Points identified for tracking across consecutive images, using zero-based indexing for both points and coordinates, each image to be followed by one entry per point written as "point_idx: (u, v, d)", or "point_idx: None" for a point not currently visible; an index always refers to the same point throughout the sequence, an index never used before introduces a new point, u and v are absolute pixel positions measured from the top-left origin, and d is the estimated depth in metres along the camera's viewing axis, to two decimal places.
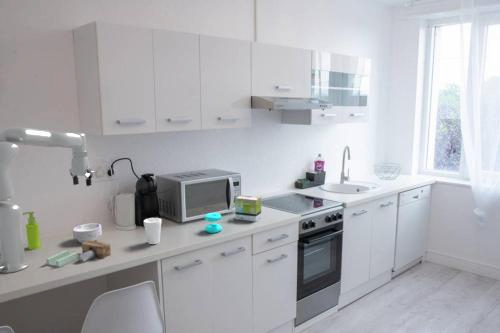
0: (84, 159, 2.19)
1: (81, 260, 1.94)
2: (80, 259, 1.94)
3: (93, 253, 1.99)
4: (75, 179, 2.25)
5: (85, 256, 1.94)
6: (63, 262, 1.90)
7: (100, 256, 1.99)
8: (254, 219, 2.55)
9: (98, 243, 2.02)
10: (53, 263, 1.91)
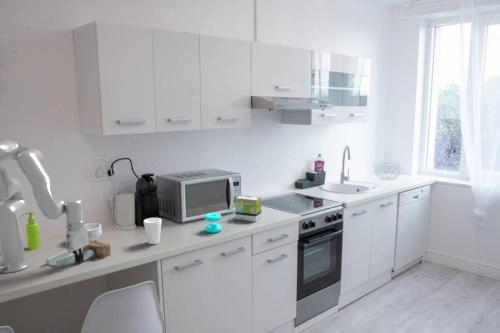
0: None
1: None
2: None
3: (93, 252, 1.99)
4: None
5: (85, 255, 1.95)
6: (63, 262, 1.90)
7: (100, 256, 1.99)
8: (254, 219, 2.55)
9: (98, 243, 2.02)
10: (53, 263, 1.91)
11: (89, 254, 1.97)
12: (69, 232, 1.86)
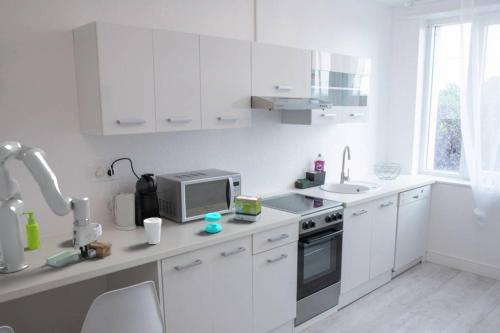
0: None
1: (89, 256, 1.99)
2: (88, 255, 1.99)
3: None
4: None
5: (93, 252, 1.99)
6: (63, 262, 1.90)
7: (100, 256, 1.99)
8: (254, 219, 2.55)
9: (98, 243, 2.02)
10: (53, 263, 1.91)
11: (96, 252, 2.01)
12: (76, 228, 1.90)
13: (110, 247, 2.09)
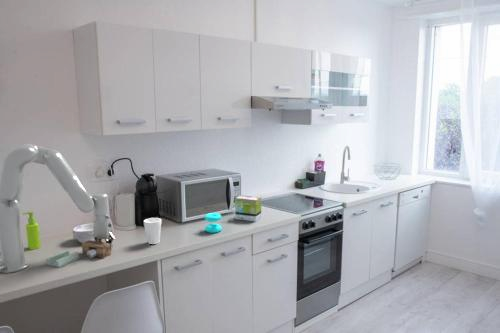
0: None
1: (89, 256, 1.99)
2: (88, 255, 1.99)
3: None
4: None
5: (93, 253, 1.99)
6: (63, 262, 1.90)
7: (100, 256, 1.99)
8: (254, 219, 2.55)
9: (98, 243, 2.02)
10: (53, 263, 1.91)
11: None
12: (110, 221, 2.05)
13: None
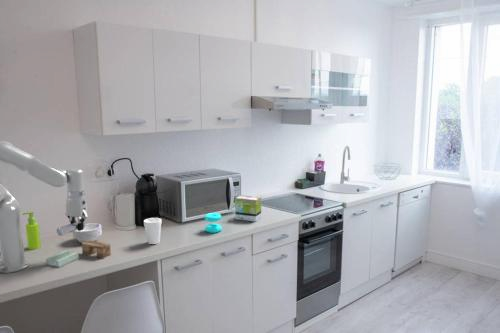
0: None
1: (59, 233, 1.90)
2: (58, 232, 1.90)
3: (72, 228, 1.94)
4: None
5: (64, 230, 1.90)
6: (63, 262, 1.90)
7: (100, 256, 1.99)
8: (254, 219, 2.55)
9: (98, 243, 2.02)
10: (53, 263, 1.91)
11: (68, 229, 1.92)
12: (84, 198, 1.96)
13: None
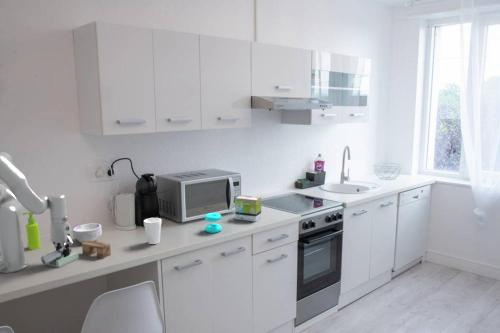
0: None
1: (44, 261, 1.85)
2: (43, 260, 1.85)
3: (57, 255, 1.90)
4: None
5: (48, 258, 1.85)
6: (63, 262, 1.90)
7: (100, 256, 1.99)
8: (254, 219, 2.55)
9: (98, 243, 2.02)
10: (53, 263, 1.91)
11: (52, 257, 1.87)
12: (68, 224, 1.91)
13: (69, 251, 1.96)
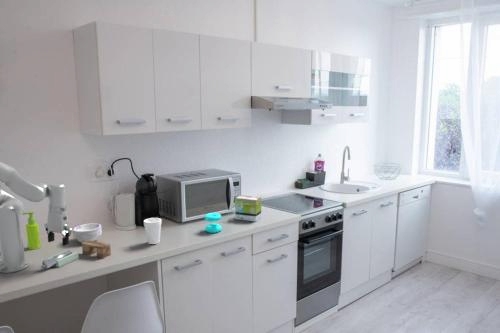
0: None
1: (45, 266, 1.86)
2: (44, 265, 1.86)
3: None
4: None
5: (50, 263, 1.85)
6: (63, 262, 1.90)
7: (100, 256, 1.99)
8: (254, 219, 2.55)
9: (98, 243, 2.02)
10: None
11: (54, 262, 1.87)
12: (65, 214, 1.90)
13: None
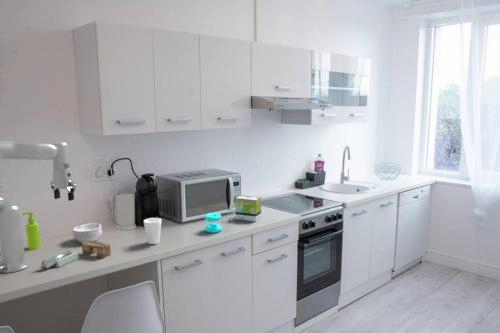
0: None
1: (44, 266, 1.86)
2: (44, 265, 1.86)
3: (58, 259, 1.90)
4: None
5: (49, 262, 1.86)
6: (63, 262, 1.90)
7: (100, 256, 1.99)
8: (254, 219, 2.55)
9: (98, 243, 2.02)
10: None
11: (53, 261, 1.88)
12: (69, 170, 2.00)
13: None
